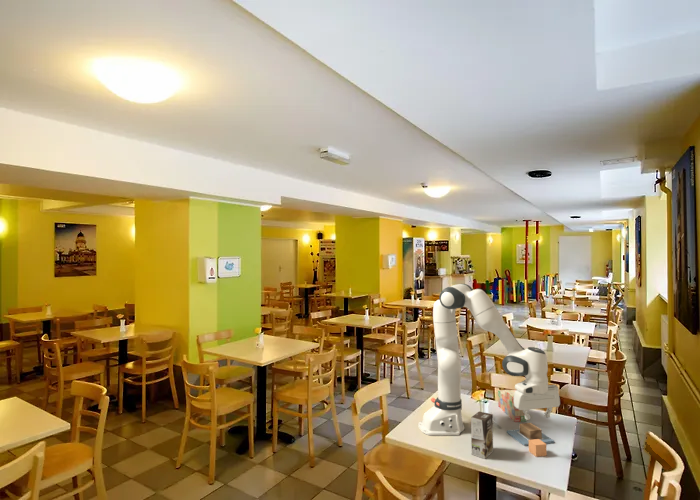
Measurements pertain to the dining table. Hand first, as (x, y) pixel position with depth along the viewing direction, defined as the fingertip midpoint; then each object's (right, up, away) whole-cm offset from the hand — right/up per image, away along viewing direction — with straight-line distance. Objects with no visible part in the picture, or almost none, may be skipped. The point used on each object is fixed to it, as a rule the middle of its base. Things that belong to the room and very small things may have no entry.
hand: (537, 418), depth 173 cm
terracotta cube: (0, -15, 0) cm, 15 cm away
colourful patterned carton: (+6, -16, +43) cm, 47 cm away
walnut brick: (+4, -14, +15) cm, 21 cm away
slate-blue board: (+3, -15, +15) cm, 21 cm away
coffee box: (-24, -16, +1) cm, 28 cm away
